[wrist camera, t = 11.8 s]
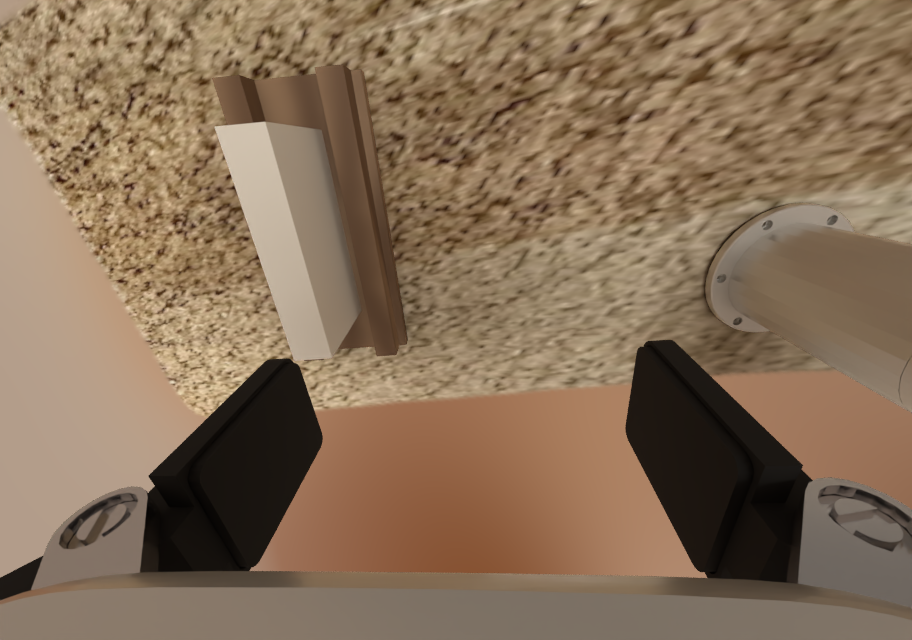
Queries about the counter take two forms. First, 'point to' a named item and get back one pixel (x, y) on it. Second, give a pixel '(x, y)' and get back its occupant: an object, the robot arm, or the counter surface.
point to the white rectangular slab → (295, 231)
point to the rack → (338, 181)
